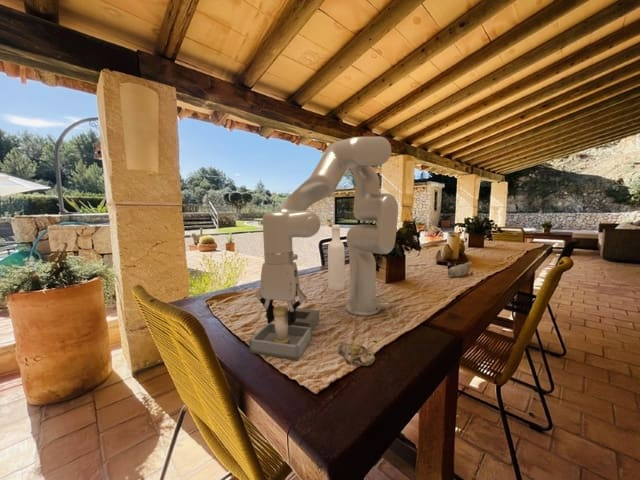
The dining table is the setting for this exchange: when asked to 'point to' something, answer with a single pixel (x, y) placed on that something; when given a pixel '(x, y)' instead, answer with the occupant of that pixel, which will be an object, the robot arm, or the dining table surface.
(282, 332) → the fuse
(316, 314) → the fuse holder
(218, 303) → the dining table surface
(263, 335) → the tray
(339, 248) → the bottle
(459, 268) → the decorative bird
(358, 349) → the mineral rock
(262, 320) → the dining table surface
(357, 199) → the robot arm
